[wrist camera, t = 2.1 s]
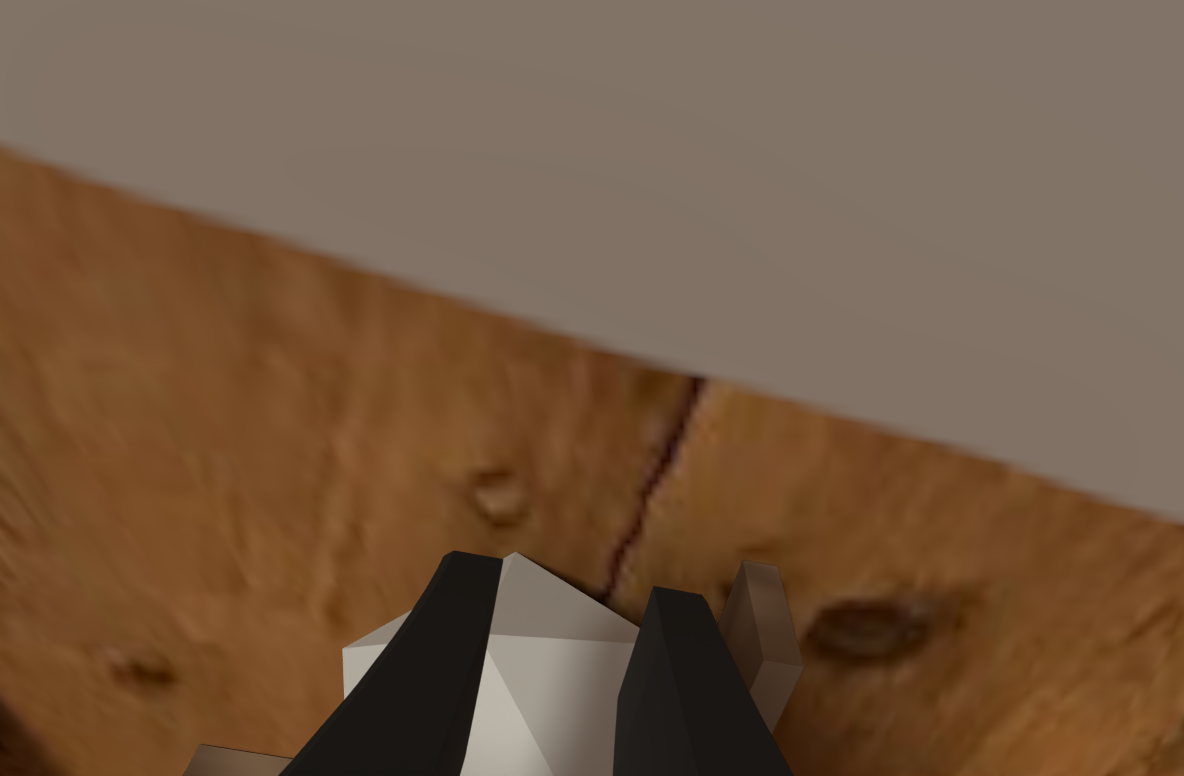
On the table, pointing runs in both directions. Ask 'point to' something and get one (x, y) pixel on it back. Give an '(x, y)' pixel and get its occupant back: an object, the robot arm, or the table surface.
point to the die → (536, 678)
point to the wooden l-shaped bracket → (746, 624)
